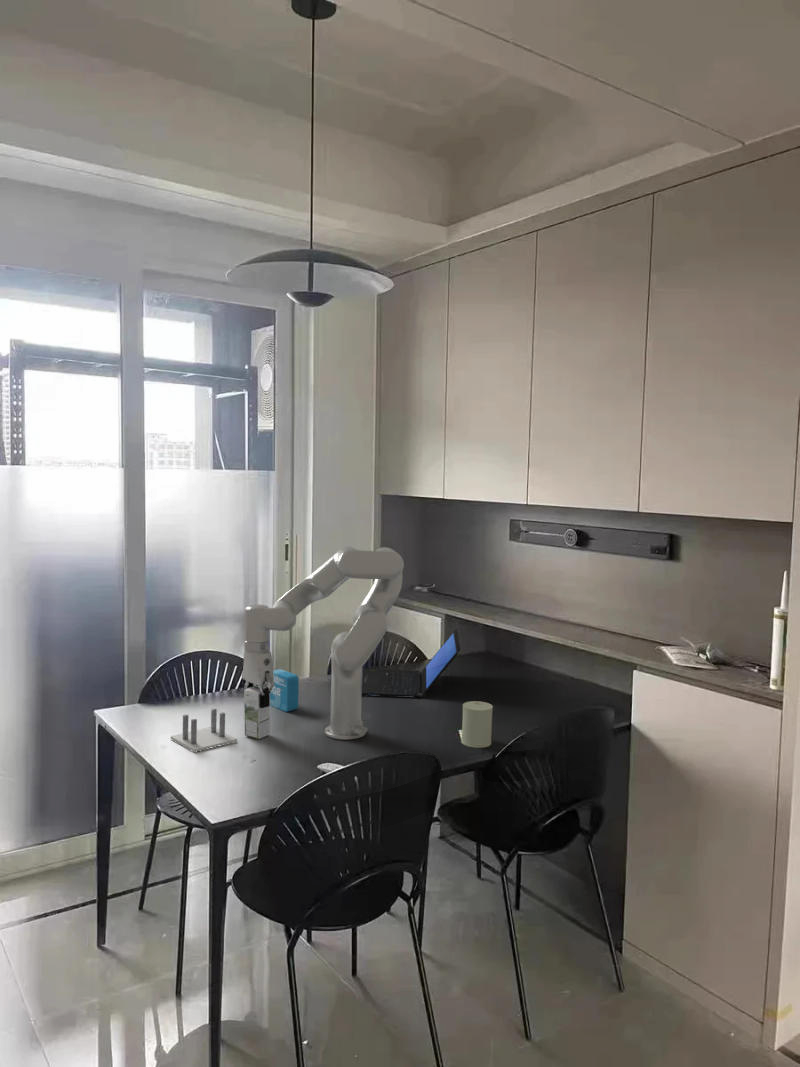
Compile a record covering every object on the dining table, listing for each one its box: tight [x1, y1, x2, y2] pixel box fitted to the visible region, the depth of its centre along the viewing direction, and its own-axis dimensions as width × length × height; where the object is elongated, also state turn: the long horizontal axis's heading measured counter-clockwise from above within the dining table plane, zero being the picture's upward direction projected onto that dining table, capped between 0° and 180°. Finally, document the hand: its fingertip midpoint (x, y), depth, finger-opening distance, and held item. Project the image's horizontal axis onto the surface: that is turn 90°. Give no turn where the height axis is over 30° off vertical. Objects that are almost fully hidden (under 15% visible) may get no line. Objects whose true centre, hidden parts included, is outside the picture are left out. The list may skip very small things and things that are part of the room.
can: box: [460, 700, 494, 749], centre depth 239 cm, size 9×9×12 cm
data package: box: [270, 668, 300, 713], centre depth 267 cm, size 12×4×12 cm, turn 43°
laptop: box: [362, 629, 461, 698], centre depth 299 cm, size 33×38×19 cm
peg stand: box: [170, 708, 238, 753], centre depth 233 cm, size 14×14×8 cm
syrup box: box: [243, 685, 271, 740], centre depth 238 cm, size 6×6×14 cm
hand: (257, 703), depth 238 cm, fingers closed on syrup box, 6 cm apart
